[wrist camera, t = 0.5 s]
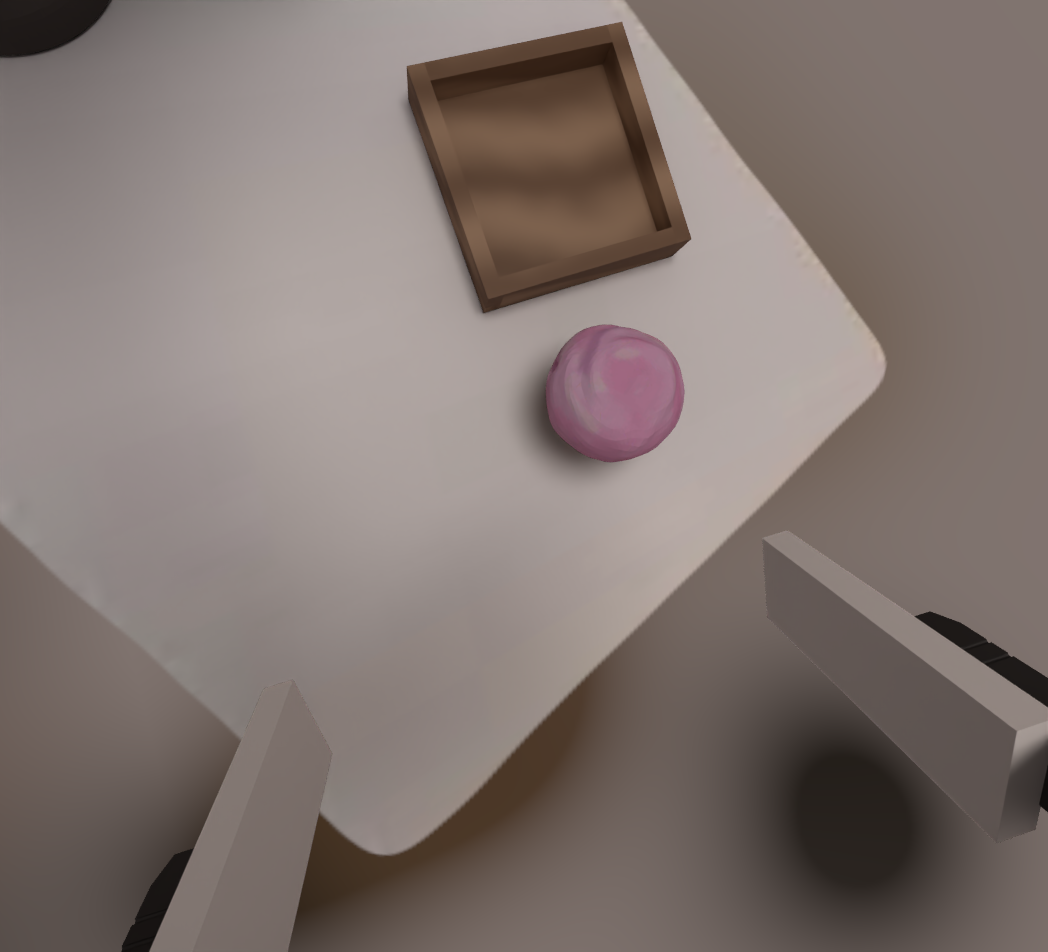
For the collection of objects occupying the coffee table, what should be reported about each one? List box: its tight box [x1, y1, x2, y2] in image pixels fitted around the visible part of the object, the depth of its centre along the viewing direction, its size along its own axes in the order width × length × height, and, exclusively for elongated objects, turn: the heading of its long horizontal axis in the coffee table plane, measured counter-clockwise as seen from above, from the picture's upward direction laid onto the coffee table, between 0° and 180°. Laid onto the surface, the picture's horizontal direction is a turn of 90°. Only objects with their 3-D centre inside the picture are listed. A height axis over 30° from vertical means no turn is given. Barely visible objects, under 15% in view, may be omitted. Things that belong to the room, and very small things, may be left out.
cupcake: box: [546, 325, 684, 462], centre depth 34 cm, size 9×9×10 cm
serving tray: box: [407, 22, 691, 313], centre depth 37 cm, size 16×16×3 cm
